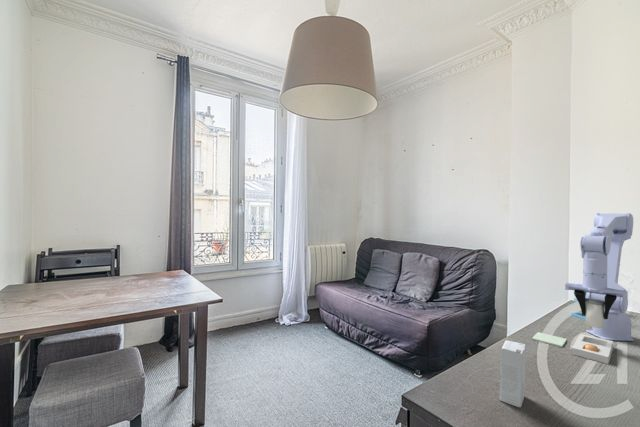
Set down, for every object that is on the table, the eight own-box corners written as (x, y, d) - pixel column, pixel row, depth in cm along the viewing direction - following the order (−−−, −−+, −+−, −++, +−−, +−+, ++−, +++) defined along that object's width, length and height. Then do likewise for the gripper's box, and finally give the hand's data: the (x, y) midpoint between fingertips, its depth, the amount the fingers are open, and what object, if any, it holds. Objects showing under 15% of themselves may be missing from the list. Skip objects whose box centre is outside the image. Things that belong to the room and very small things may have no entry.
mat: (537, 333, 108) (537, 331, 108) (566, 340, 102) (566, 338, 102) (531, 339, 102) (531, 338, 102) (561, 347, 96) (561, 345, 96)
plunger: (585, 350, 93) (585, 343, 93) (597, 353, 91) (598, 346, 91) (584, 353, 91) (584, 345, 91) (596, 356, 89) (596, 348, 89)
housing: (580, 339, 102) (580, 333, 102) (613, 347, 96) (613, 341, 96) (571, 354, 91) (571, 347, 91) (608, 364, 86) (608, 357, 86)
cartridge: (595, 323, 99) (596, 298, 99) (609, 328, 94) (609, 302, 94) (580, 322, 99) (580, 297, 99) (593, 328, 94) (593, 302, 94)
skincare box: (503, 389, 73) (504, 338, 73) (526, 396, 70) (526, 343, 70) (498, 401, 68) (499, 347, 68) (522, 409, 65) (523, 353, 65)
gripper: (563, 271, 99) (563, 313, 99) (626, 278, 88) (626, 325, 88) (567, 269, 104) (567, 308, 104) (628, 275, 93) (627, 320, 93)
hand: (594, 316), depth 96 cm, fingers closed on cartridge, 5 cm apart
